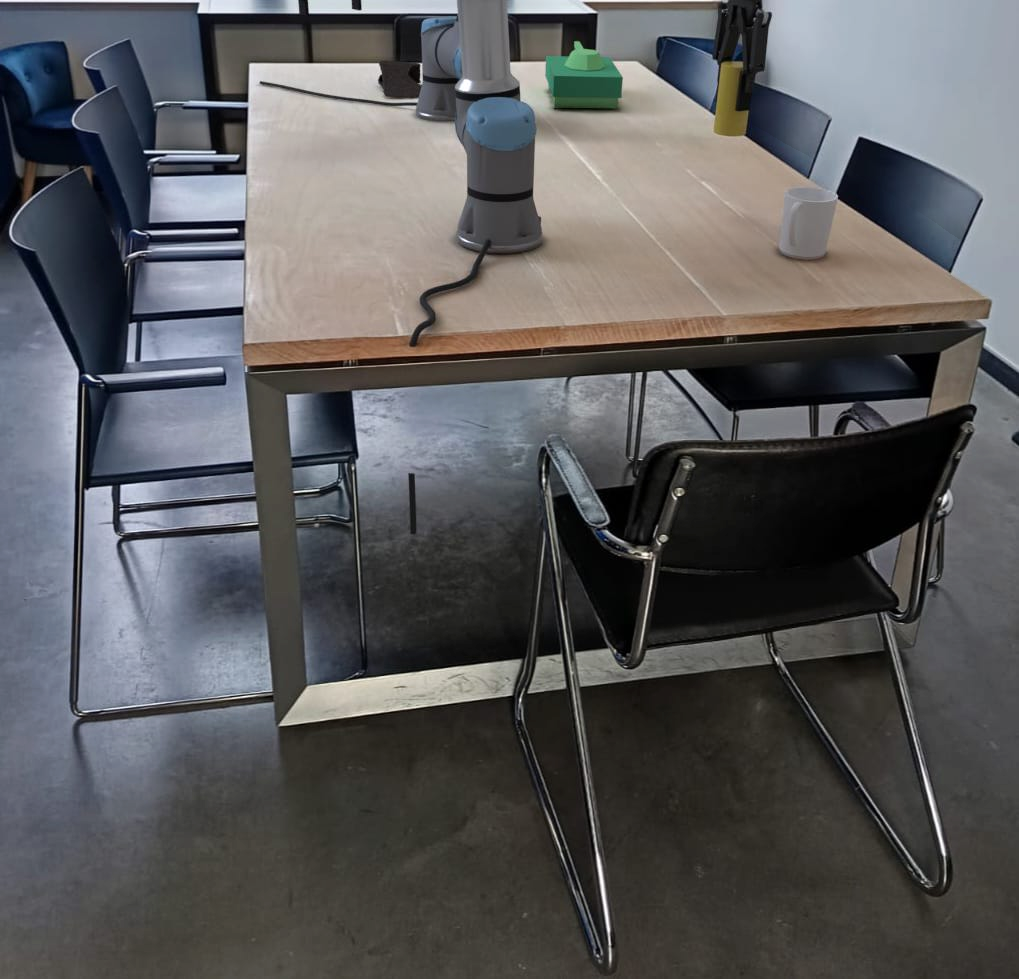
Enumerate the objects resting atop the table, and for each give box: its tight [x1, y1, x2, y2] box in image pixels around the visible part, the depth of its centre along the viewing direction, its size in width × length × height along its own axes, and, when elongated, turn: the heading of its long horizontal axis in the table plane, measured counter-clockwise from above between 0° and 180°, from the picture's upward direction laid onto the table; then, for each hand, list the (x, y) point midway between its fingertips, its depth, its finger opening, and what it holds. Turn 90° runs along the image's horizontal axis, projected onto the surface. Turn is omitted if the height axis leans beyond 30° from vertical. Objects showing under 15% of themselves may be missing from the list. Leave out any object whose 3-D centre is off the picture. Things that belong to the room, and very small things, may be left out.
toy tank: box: [544, 40, 624, 109], centre depth 295 cm, size 18×12×35 cm
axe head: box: [377, 59, 422, 99], centre depth 299 cm, size 18×8×15 cm
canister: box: [713, 60, 750, 137], centre depth 202 cm, size 6×6×12 cm
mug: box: [778, 186, 839, 261], centre depth 190 cm, size 11×9×10 cm
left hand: (330, 12), depth 239 cm, fingers open, 13 cm apart
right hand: (732, 106), depth 203 cm, fingers closed on canister, 6 cm apart
